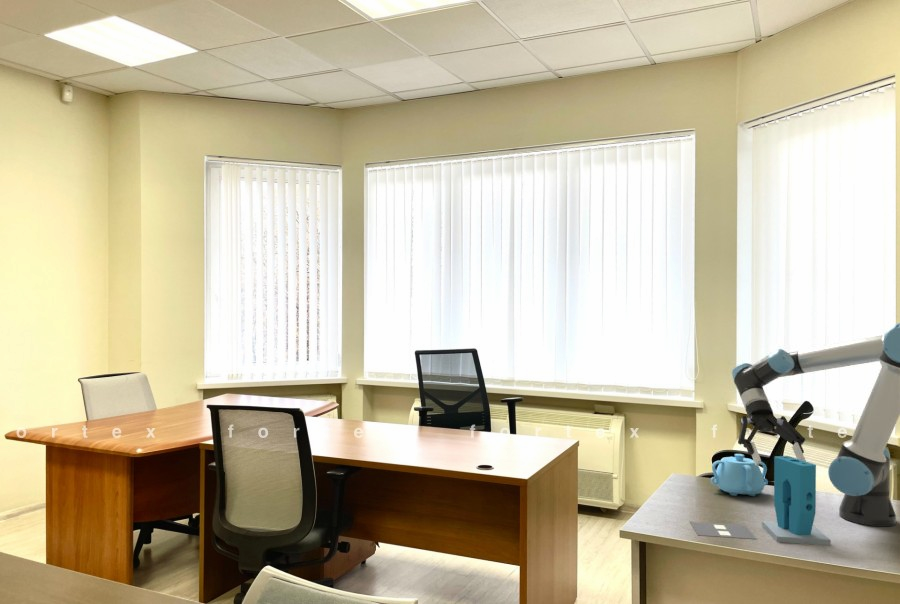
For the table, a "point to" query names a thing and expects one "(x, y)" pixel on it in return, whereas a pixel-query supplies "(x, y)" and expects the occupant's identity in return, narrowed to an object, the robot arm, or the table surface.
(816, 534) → the pad
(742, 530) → the mat
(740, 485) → the decorative pot
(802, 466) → the block
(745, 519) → the table surface
